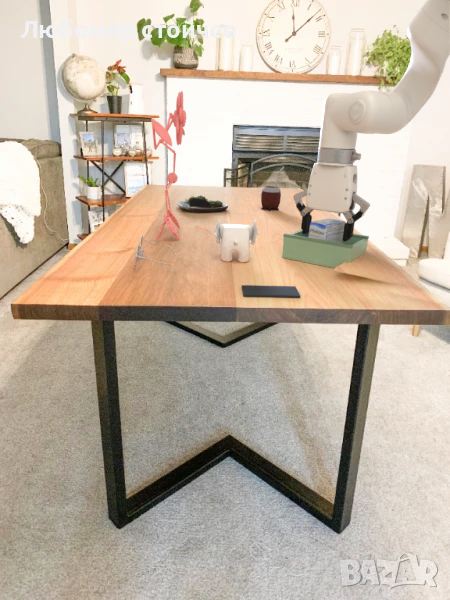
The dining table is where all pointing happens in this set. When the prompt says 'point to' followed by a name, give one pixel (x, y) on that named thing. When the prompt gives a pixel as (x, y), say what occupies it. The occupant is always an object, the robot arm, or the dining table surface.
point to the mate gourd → (271, 196)
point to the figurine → (179, 123)
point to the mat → (270, 291)
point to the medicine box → (327, 230)
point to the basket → (322, 249)
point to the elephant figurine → (235, 240)
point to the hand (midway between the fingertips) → (325, 236)
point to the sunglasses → (143, 252)
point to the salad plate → (202, 205)
